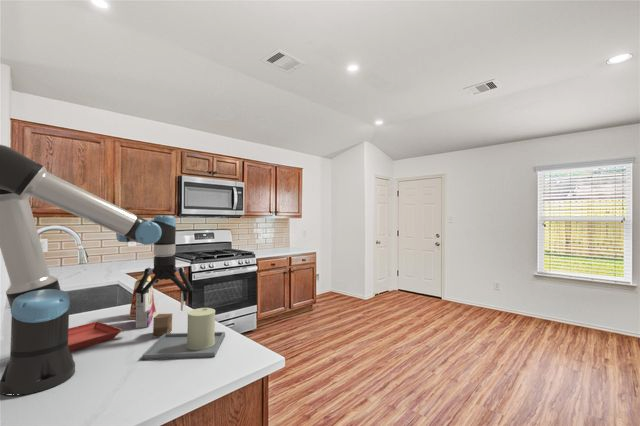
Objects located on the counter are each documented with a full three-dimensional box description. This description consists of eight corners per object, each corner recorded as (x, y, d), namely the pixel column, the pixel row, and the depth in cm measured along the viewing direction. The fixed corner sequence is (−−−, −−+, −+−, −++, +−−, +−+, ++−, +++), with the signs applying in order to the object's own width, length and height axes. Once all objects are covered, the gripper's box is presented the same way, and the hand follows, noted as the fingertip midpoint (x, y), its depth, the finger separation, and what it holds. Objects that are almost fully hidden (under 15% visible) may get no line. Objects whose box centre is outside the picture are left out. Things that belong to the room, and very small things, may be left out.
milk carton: (134, 313, 141) (135, 270, 141) (156, 312, 143) (157, 269, 144) (128, 320, 132) (129, 273, 132) (151, 318, 135) (153, 273, 135)
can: (219, 340, 110) (219, 307, 111) (207, 351, 101) (208, 314, 101) (195, 338, 111) (195, 305, 112) (181, 349, 102) (181, 313, 102)
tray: (214, 357, 98) (214, 352, 98) (142, 359, 95) (142, 355, 95) (225, 335, 116) (225, 331, 116) (164, 337, 113) (164, 333, 113)
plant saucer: (96, 328, 122) (97, 320, 122) (122, 337, 114) (123, 328, 114) (38, 345, 106) (39, 335, 106) (64, 356, 98) (64, 346, 98)
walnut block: (167, 336, 115) (167, 317, 115) (153, 336, 114) (153, 317, 114) (171, 331, 120) (172, 313, 120) (158, 331, 119) (158, 313, 119)
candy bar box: (139, 320, 132) (140, 282, 132) (152, 319, 134) (153, 281, 134) (134, 329, 121) (135, 288, 122) (148, 327, 123) (149, 287, 123)
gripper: (200, 253, 123) (200, 306, 123) (135, 254, 120) (134, 308, 120) (195, 256, 115) (195, 312, 115) (125, 257, 112) (124, 314, 112)
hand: (164, 310), depth 117 cm, fingers open, 13 cm apart
